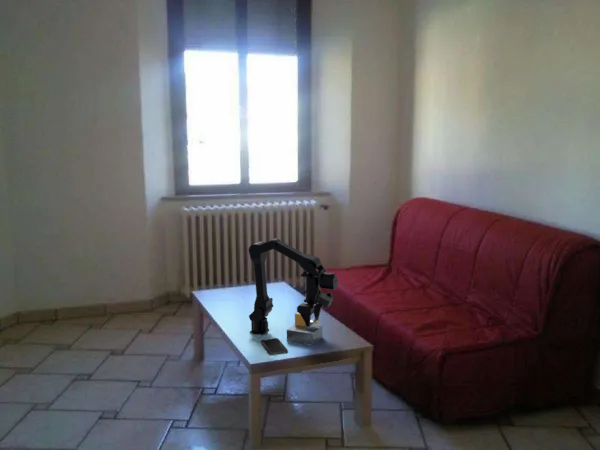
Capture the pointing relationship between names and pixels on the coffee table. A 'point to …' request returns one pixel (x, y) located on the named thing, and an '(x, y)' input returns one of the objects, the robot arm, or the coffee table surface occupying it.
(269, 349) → the phone
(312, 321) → the grey rounded piece
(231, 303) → the coffee table surface
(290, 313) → the coffee table surface
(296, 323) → the grey orange block
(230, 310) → the coffee table surface
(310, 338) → the hitch block
